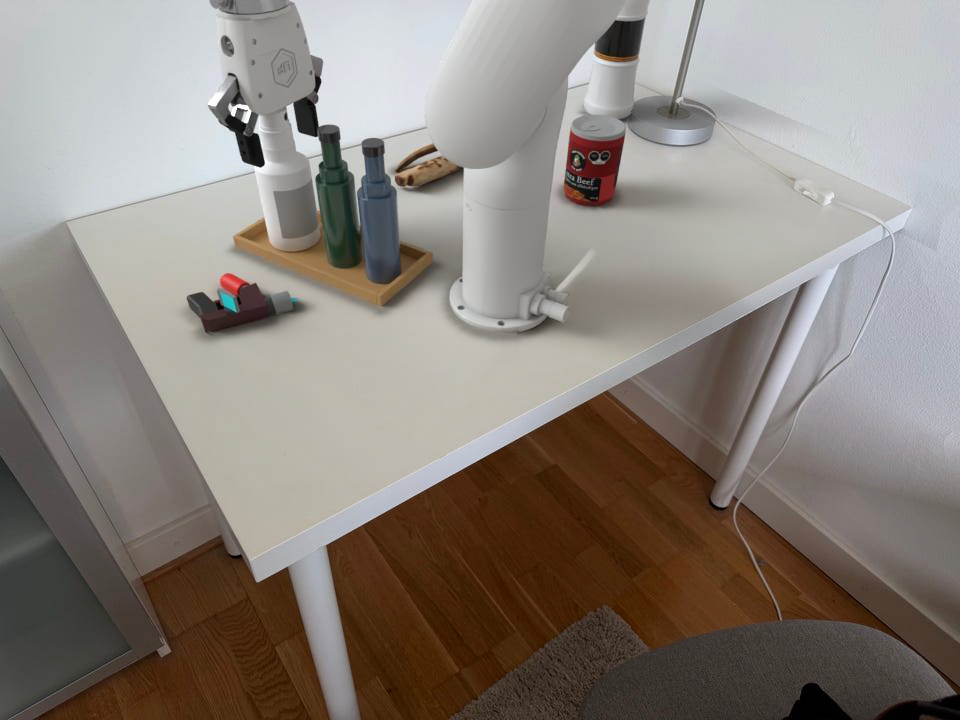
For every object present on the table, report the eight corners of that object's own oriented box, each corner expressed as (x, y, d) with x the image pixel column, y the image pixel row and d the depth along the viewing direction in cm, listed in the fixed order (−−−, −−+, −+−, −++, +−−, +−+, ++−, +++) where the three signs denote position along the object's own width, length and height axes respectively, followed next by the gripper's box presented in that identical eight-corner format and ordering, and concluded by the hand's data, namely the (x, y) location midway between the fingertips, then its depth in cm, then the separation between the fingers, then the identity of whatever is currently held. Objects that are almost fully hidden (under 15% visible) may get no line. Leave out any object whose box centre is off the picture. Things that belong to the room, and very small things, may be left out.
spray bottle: (309, 256, 90) (287, 122, 78) (261, 249, 91) (231, 116, 79) (328, 229, 95) (310, 100, 83) (282, 222, 96) (257, 94, 84)
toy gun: (305, 314, 82) (298, 281, 79) (201, 343, 78) (190, 309, 75) (282, 272, 88) (275, 239, 85) (185, 296, 84) (174, 263, 81)
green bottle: (369, 255, 91) (357, 126, 79) (347, 272, 88) (331, 141, 76) (342, 245, 92) (326, 117, 80) (319, 261, 89) (299, 131, 77)
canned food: (552, 192, 106) (560, 123, 98) (587, 177, 110) (596, 109, 102) (589, 212, 101) (600, 141, 94) (624, 195, 105) (637, 126, 98)
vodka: (583, 120, 126) (608, -70, 106) (582, 100, 133) (605, -81, 112) (634, 123, 125) (669, -67, 105) (630, 103, 132) (662, -79, 112)
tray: (433, 265, 90) (432, 252, 89) (381, 310, 83) (380, 296, 82) (293, 213, 99) (291, 200, 98) (235, 249, 92) (232, 236, 90)
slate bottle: (408, 270, 88) (402, 139, 76) (387, 288, 85) (376, 155, 73) (380, 259, 90) (369, 130, 78) (358, 276, 87) (343, 144, 75)
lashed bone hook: (452, 147, 117) (370, 180, 107) (452, 120, 114) (368, 151, 104) (492, 164, 112) (411, 200, 102) (493, 136, 109) (409, 170, 99)
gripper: (215, 21, 66) (254, 185, 77) (332, -18, 77) (351, 130, 88) (161, 9, 69) (206, 169, 80) (282, -27, 80) (306, 118, 91)
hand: (282, 148), depth 84 cm, fingers open, 9 cm apart
